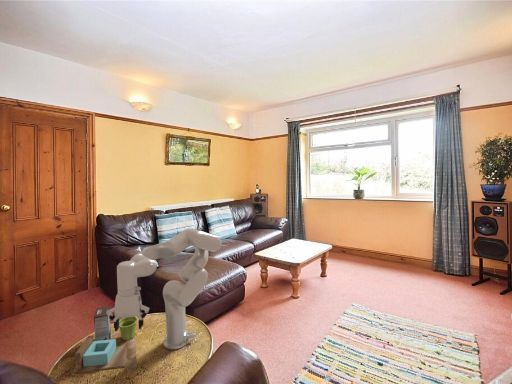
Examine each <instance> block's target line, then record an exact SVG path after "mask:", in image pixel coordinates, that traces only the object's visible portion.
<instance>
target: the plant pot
mask: <svg viewBox="0 0 512 384" xmlns="http://www.w3.org/2000/svg"><path fill="white" fill-rule="evenodd" d="M138 321H139V318H138V317H137V316H136V317H127V318H120V319H119V331H120V337H121V340H122V341H123V340H124V341H128V340H131V339H134V337H135V335H136V328H137V323H138Z"/></svg>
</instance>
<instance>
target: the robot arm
mask: <svg viewBox="0 0 512 384" xmlns="http://www.w3.org/2000/svg"><path fill="white" fill-rule="evenodd" d="M222 244H223V243H222V239H221V238H220V237H219V235H214V234H210V233H208V232H204V231H201V230H199V229H193V228H186V229H184V230H183V231H181V232H180V233H178V234H176V235H175V236H173V237H172V238H171V237H170V238H169V239H168V240H166V241H162V242H160V243H157V244H154V245H151V246H148V247H146V248H144V249H142V250H141V251H139V252H138V253H136V254H134V256H132V257H131V258H130V260H125V261H121V262H119V263H118V265H116V279H117V283H116V284H117V294H116V296H115V302H114V307H113V308H110V310H108V311H107V315H108V316H109V319H111V323H112V324H113V328H114V332H117V331H118V330H120V328H119V321H120V319H123V318H127V317H137V319H138V330H141V329H142V327H144V324H145V323H144V318H146V316H147V315H148V313H149V311H150V309H151V308H150V307H148V306H146V305H143V304H142V296H141V292H140V291H141V289H142V288H141V286H139V285H138V278H141V277H142V278H143V277H149V276H151V275H153V274H154V273H155V272H156V271H157V266H158V265H157V262H156V261H155V260H158V259H163V258H172V257H176V256H177V255H179V254H181V253H182V252H183V251H186V249H188V248H189V247H194V248H195V250H194V253H193V255H192V256H191V257H190V259H188V261H187V262H186V263H185V265H184V266H183V267H182V269H181V270H180V271H179V279H180V280H181V281H183V282H184V283H183V282H181V281H180V280H177V279H176V280H174V279H173V280H169V281H167V282H166V283H165V285H164V286H163V289H162V297H163V300H164V306H165V307H164V308H165V309H164V310H165V334H166V335H165V338H164V339H163V343H162V344H163V347H164V348H166V349H168V350H177V349H178V350H179V349H182V348H184V347H185V346H186V345H187V344H188V343H189V341H190V339H195V337H196V336H195V335H196V334H195V333H194V332H193V331H188V329H187V326H186V324H187V322H186V307H188V306H190V305H191V304H192V303H193V302H194V300H195V299H196V297H197V296H199V294H200V293H201V291H202V290H203V288H204V287H205V286H206V284H207V282H208V277H209V275H208V271H207V270H206V269H205V266H206V265H207V263H208V260H209V252H212V253H215V252H218V251H220V249H221V247H222ZM142 311H144V312H142ZM113 313H114V314H113Z"/></svg>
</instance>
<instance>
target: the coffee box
mask: <svg viewBox="0 0 512 384" xmlns="http://www.w3.org/2000/svg"><path fill="white" fill-rule="evenodd" d="M110 309H111V306H110V305H109V306H108V305H107V306H101V307H97V308H96V309H95V312H94V315H93V323H94V341H101V340H111V339H112V335H113V331H112V320H111V319H109V316H108V315H107V311H108V310H110Z"/></svg>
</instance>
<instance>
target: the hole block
mask: <svg viewBox="0 0 512 384" xmlns="http://www.w3.org/2000/svg"><path fill="white" fill-rule="evenodd" d="M116 347H117V339H116V338H111V340H101V341H95V340H94V341H93V343H92V344H91V345H90V347H89V348H88V350H87V351H86V352H85V354H84V355H83V366H84V367H86V366H95V365H104V364H108V363H109V361H110V359H111V357H112V356H113V354H114V352H115V350H116Z"/></svg>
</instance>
